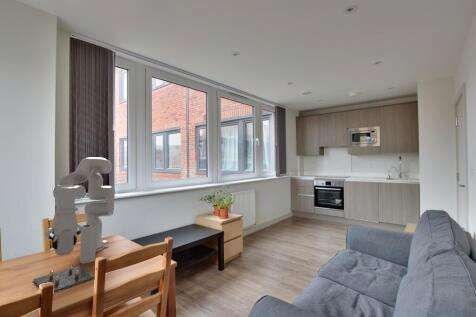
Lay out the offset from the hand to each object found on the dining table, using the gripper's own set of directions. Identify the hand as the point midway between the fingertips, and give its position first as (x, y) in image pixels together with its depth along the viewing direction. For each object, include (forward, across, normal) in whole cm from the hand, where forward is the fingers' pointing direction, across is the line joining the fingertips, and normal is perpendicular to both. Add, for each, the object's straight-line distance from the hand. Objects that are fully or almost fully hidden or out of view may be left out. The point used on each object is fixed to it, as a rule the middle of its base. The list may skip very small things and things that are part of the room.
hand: (64, 246), depth 124 cm
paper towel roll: (+17, -16, -15) cm, 28 cm away
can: (+3, 0, 0) cm, 3 cm away
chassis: (+17, 0, 0) cm, 17 cm away
